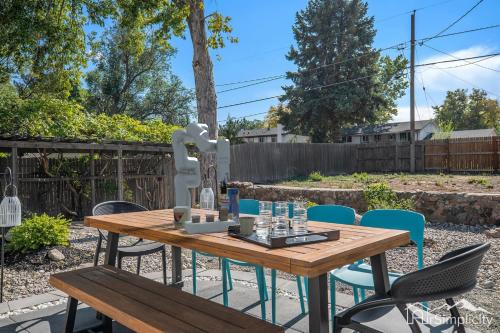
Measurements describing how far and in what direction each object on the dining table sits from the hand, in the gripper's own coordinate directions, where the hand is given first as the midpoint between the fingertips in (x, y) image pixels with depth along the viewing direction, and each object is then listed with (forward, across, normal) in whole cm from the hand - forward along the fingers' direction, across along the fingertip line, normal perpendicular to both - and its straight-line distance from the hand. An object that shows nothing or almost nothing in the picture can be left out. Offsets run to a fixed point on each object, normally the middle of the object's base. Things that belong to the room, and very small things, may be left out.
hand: (223, 193), depth 218 cm
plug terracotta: (+16, -1, 0) cm, 16 cm away
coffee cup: (+20, -20, -20) cm, 35 cm away
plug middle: (+20, -1, -8) cm, 21 cm away
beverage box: (+20, -21, +10) cm, 30 cm away
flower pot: (+21, +19, +6) cm, 29 cm away
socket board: (+20, -1, -8) cm, 22 cm away
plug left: (+19, -1, -16) cm, 25 cm away
